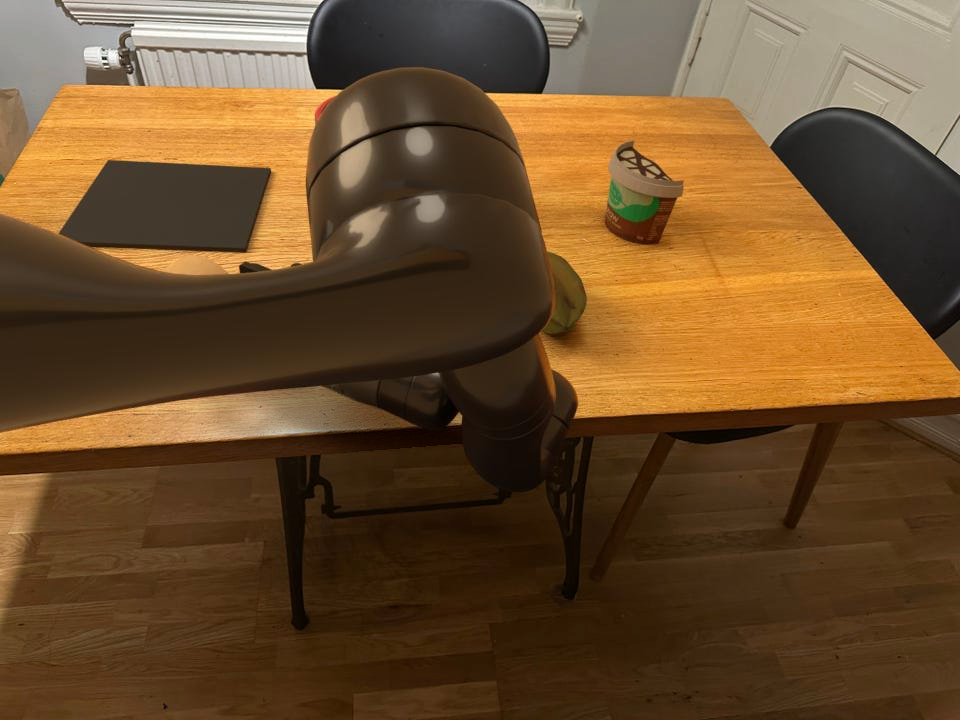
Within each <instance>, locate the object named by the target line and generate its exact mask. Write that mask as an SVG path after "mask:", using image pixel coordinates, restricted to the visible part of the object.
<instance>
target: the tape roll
mask: <svg viewBox="0 0 960 720" xmlns="http://www.w3.org/2000/svg"><path fill="white" fill-rule="evenodd" d="M161 271H163V272H168V273H174V274H186V275H212V274H230V273H229V272H228V271H227V270H226V269H225V268H223V267H222V266H221V265H219V264H218V263H216V262H215V261H213V260H211V259H209V258H207V257H204V256H201V255H198V254H187V255H186V254H185V255H183V256H181V257H180V258H178V259H176V260H175V261H174V262H172V263H171V264H169V265H168V266H166V267H165V268H162V269H161Z"/></svg>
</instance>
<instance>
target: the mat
mask: <svg viewBox="0 0 960 720" xmlns="http://www.w3.org/2000/svg"><path fill="white" fill-rule="evenodd" d="M271 173H272V168H271V167H259V166H258V167H257V166H255V167H254V166H238V165H216V164H200V163H199V164H197V163H178V162H157V161H138V160H119V159H118V160H116V159H107V161H106V162H105V164H104V165H103V167H102V168H101V169H100V170H99V172H98V174H97V176H96V177H95V179H94V180H93V181H92V183H91V185H90V186H89V187H88V188H87V190H86V192H85V193H84V195H83V196H82V198H81V199H80V200H79V202H78V203H77V205H76V207H75V208H74V209H73V211H72V213H71V214H70V215H69V217H68V218H67V220H66V222H65V223H64V224H63V226H62V227H61V228H60V230H59V232H58V233H57V234H60V235H62V236H65V237H67V238H70V239H72V240H75V241H77V242H79V243H82V244H84V245H87V246H89V247H101V248H102V247H103V248H123V249H124V248H127V249H128V248H129V249H132V248H133V249H154V250H180V251H204V252H205V251H208V252H231V253H232V252H236V253H246V252H247V249H248V247H249V243H250V240H251V237H252V233H253V230H254V227H255V225H256V221H257V217H258V214H259V211H260V208H261V205H262V201H263V198H264V195H265V192H266V189H267V186H268V183H269V179H270V177H271Z"/></svg>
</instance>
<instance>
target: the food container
mask: <svg viewBox="0 0 960 720" xmlns="http://www.w3.org/2000/svg"><path fill="white" fill-rule="evenodd" d="M634 145H635V139H632V140H627V141H625V142H623V143H621V144H620V145H618V146H617V148H616V149H615V150H614V151H613V153H612V154H611V155H612V156H611V158H610V160H609V161H608V165H607V169H608V173H609V175H610V176H611V177H610V184H609V188H608V189H609V190H608V196H607V203H606V209H605V217H604V225H605V226H606V228H607V230H608V231H609V232H610V233H612V234H613V235H614V236H616V237H618V238H620V239H622V240H624V241H627V242H630V243H634V244H641V245H655V244H659V243H660V241H661V238H662V236H663V234H664V231H665V229H666V226H667V225H668V222H669V220H670V217H671V214H672V211H673V210H674V207H675V205H676V202H677V200H678V198H682V197H683V193H684V189H685V188H684V187H685V185H684V182H685V180H684V179H681V180H674V179H672V178H671V177H670V176H669V175H668V174H667V173H666V172H665V171H664V170H663V169H662V167H660V165H659V164H658V163H656V162H655V161H653V160H652V159H650V158H648V157H646V156H644V155H643V154H641V153H640V152H639V151H638V150H637V149H636V148H634Z"/></svg>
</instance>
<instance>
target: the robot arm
mask: <svg viewBox="0 0 960 720" xmlns="http://www.w3.org/2000/svg"><path fill="white" fill-rule="evenodd" d="M335 96H336V97H335V98H334V99H333V100H332V101H331V102H330V103H328V104H327V106H326V108H325V109H324V111H323V112H322V114H321V115H320V117H319V119H318V120H317V122H316V124H315V123H314V127H313V129H312V134H311V136H310V140H309V143H308V149H307V160H306V170H305V192H306V193H305V194H306V204H307V205H306V207H307V214H308V215H307V216H308V224H309V234H310V244H311V255H312V261H309V262H306V263H300V262H294V263H292V264H290V266H288V267H282V268H276V269H271V268H270V267H267V266H264V265H262V264H259V263H256V262H249V261H243V262H242V263H240V264H239V265H238V269H239V270H238V271H239V272H238V273H237V272H236V273H229V274H212V275H186V274H174V273H168V272H163V271H162V270H157V269H154V268H150V267H146V266H143V265H138V264H135V263H133V262H129V261H127V260H124V259H121V258H118V257H116V256H113V255H111V254H107V253H106V252H104V251H101V250H99V249H96V248H94V247H92V246H87V245H84V244H82V243H79V242H77V241H75V240H72V239H70V238H67V237H65V236H62V235H60V234H58V233H57V232H54V231H53V230H51V229H48V228H45V227H42V226H40V225H37V224H34V223H30V222H28V221H25V220H23V219H20V218H17V217H14V216H10V215H7V214H4V213H0V434H2V433H7V432H12V431H16V430H21V429H27V428H31V427H37V426H42V425H47V424H51V423H56V422H60V421H61V422H62V421H67V420H73V419H78V418H84V417H90V416H95V415H101V414H106V413H112V412H118V411H119V412H120V411H125V410H130V409H136V408H142V407H148V406H155V405H161V404H167V403H168V404H169V403H174V402H180V401H188V400H196V399H202V398H204V399H205V398H212V397H221V396H231V395H240V394H241V395H242V394H250V393H260V392H270V391H281V390H291V389H301V388H313V387H323V388H324V389H327V390H329V391H331V392H333V393H335V394H338V395H340V396H342V397H345V398H347V399H349V400H352V402H353V401H354V402H356V403H358V404H362V405H365V406H368V407H372V408H375V409H378V410H380V411H383V412H386V413H388V414H390V415H392V416H393V417H394V416H395V417H397V418H398V419H400V420H403V421H405V422H407V423H410V424H411V425H414V426H416V427H419V428H421V429H423V430H426V431H430V432H440V431H442V430H444V429H446V428H447V427H448V426H449V425H450V424H451V423H452V422H453V421H454V420H455V418H456V417H457V416H458V415H459V414H460V415H461V439H462V440H461V441H462V442H461V443H462V448H463V452H464V455H465V458H466V459H467V461H468V463H469V465H470V466H471V468H472V469H473V470H474V471H475V473H476V474H477V475H478V476H479V477H480V478H482V479H483V480H484V481H485V482H487V483H488V484H490V485H491V486H493V487H495V488H497V489H499V490H501V491H504V492H510V493H525V492H529V491H533V490H535V489H537V488H538V487H539V486H540V485H542V484H543V482H544V481H545V480H546V479H547V477H548V476H549V474H550V472H551V470H552V469H553V468H552V467H553V465H554V463H555V462H556V461H555V460H556V458H557V456H558V454H559V451H560V449H561V448H562V445H563V443H564V441H565V438H566V436H567V434H568V431H569V429H570V427H571V425H572V424H573V421H574V418H575V416H576V414H577V411H578V408H579V397H578V393H577V391H576V389H575V388H574V386H573V384H572V383H571V382H570V381H569V380H568V379H567V378H566V377H565V376H564V375H562V374H561V373H560V372H558V371H556V370H554V369H552V367H551V364H550V360H549V356H548V354H547V351H546V349H545V346H544V343H543V342H544V341H543V339H542V337H541V333H542V332H543V331H542V330H543V329H544V328H545V327H546V326H547V324H548V323H549V321H550V319H551V317H552V315H553V312H554V308H555V289H554V282H553V276H552V271H551V266H550V262H549V258H548V253H547V251H548V249H547V246H546V242H545V239H544V237H543V231H542V226H541V222H540V218H539V214H538V211H537V206H536V202H535V199H534V195H533V191H532V187H531V183H530V179H529V176H528V171H527V167H526V166H527V165H526V163H525V160H524V156H523V153H522V151H521V148H520V144H519V142H518V139H517V137H516V134H515V133H514V131H513V128H512V126H511V124H510V123H509V121H508V120H507V118H506V116H505V115H504V113H503V112H502V110H501V109H500V107H499V106H498V105H497V103H496V102H495V101H494V100H493V99H492V98H491V97H490V96H489V95H488V94H487V93H486V92H484V90H482V89H481V88H480V87H478V86H476V85H475V84H473V83H472V82H470V81H468V80H467V79H465V78H464V77H461V76H458V75H456V74H453V73H451V72H449V71H445V70H442V69H435V68H429V67H423V66H419V67H418V66H414V67H411V66H410V67H396V68H392V69H386V70H381V71H378V72H375V73H371V74H369V75H367V76H364V77H362V78H360V79H358V80H356V81H355V82H353V83H352V84H350V85H349V86H347V87H345V88H344V89H343V90H341V91H340V92H338V94H336V95H335Z"/></svg>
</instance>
